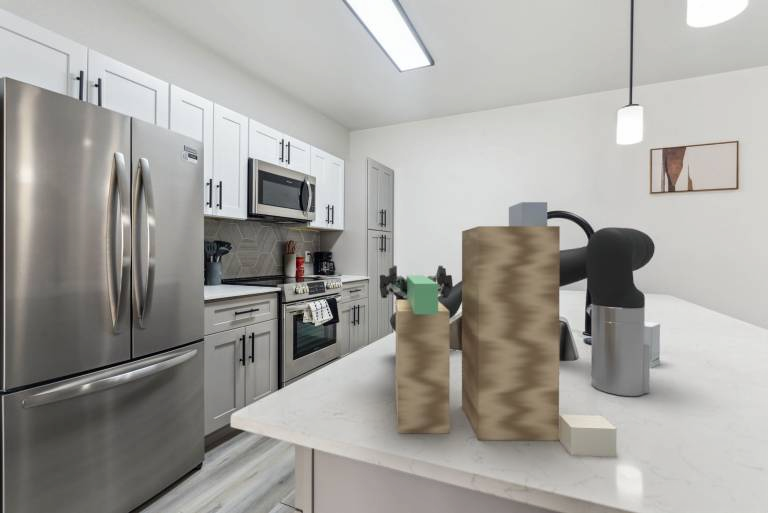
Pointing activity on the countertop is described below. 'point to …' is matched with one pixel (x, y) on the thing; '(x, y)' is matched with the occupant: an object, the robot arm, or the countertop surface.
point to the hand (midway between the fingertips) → (417, 269)
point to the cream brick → (587, 435)
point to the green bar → (422, 295)
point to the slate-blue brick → (528, 214)
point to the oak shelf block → (511, 331)
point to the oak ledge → (422, 370)
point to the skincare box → (653, 342)
